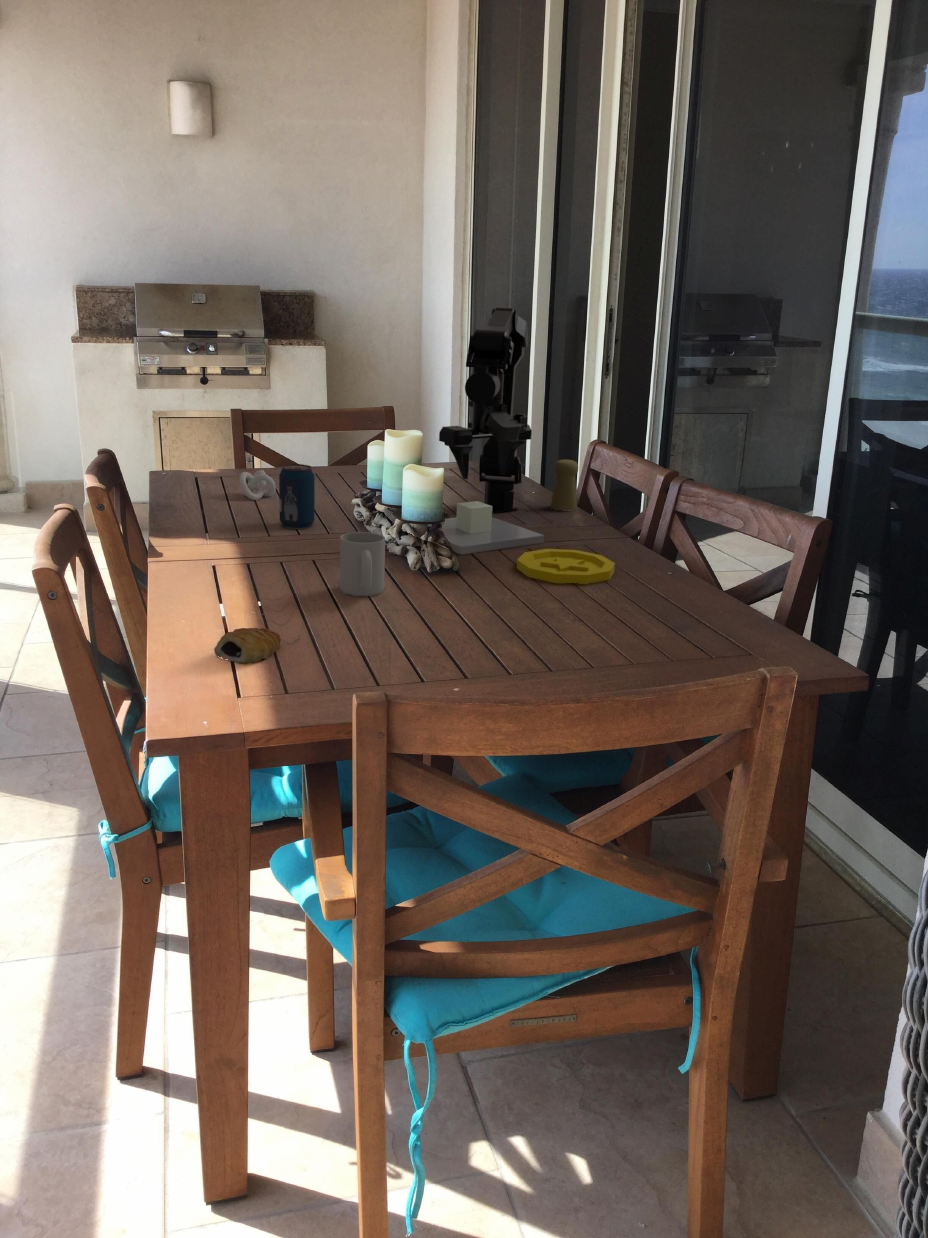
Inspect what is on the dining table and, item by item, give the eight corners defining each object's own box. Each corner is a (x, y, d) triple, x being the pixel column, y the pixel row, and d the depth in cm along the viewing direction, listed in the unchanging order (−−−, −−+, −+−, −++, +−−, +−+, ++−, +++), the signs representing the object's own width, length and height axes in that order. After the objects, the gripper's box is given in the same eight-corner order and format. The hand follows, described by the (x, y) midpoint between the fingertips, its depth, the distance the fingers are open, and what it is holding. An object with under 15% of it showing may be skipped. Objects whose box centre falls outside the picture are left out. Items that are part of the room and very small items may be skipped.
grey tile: (403, 531, 210) (403, 523, 210) (483, 520, 221) (483, 514, 221) (460, 554, 195) (461, 546, 194) (543, 542, 206) (544, 535, 206)
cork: (576, 506, 239) (580, 458, 236) (576, 512, 233) (580, 463, 230) (550, 504, 240) (553, 456, 236) (549, 510, 234) (553, 461, 230)
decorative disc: (547, 554, 200) (547, 544, 199) (630, 572, 190) (631, 561, 190) (499, 572, 186) (499, 561, 186) (585, 592, 177) (586, 580, 176)
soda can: (311, 521, 215) (311, 463, 211) (317, 529, 209) (317, 469, 205) (277, 522, 213) (276, 463, 209) (282, 530, 206) (281, 470, 203)
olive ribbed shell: (255, 639, 148) (254, 613, 147) (293, 649, 145) (293, 623, 144) (210, 659, 140) (209, 632, 139) (250, 670, 137) (250, 642, 136)
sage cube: (456, 528, 208) (457, 503, 207) (476, 525, 211) (477, 501, 209) (470, 533, 204) (471, 508, 203) (491, 530, 207) (492, 506, 206)
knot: (234, 494, 236) (233, 468, 234) (269, 492, 239) (268, 467, 237) (242, 501, 229) (241, 475, 228) (278, 499, 233) (277, 473, 231)
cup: (381, 583, 175) (382, 531, 173) (389, 601, 166) (390, 547, 163) (337, 584, 174) (338, 532, 171) (344, 602, 165) (344, 548, 162)
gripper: (472, 405, 191) (469, 489, 196) (551, 400, 201) (546, 480, 206) (438, 396, 199) (436, 477, 204) (516, 392, 209) (512, 469, 215)
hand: (484, 476), depth 207 cm, fingers open, 9 cm apart
